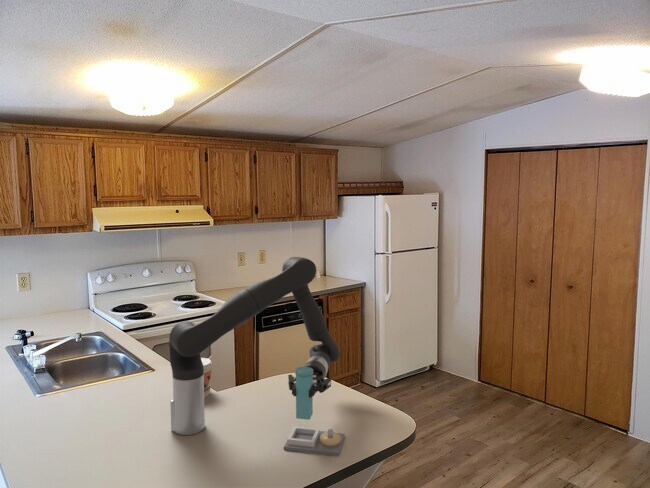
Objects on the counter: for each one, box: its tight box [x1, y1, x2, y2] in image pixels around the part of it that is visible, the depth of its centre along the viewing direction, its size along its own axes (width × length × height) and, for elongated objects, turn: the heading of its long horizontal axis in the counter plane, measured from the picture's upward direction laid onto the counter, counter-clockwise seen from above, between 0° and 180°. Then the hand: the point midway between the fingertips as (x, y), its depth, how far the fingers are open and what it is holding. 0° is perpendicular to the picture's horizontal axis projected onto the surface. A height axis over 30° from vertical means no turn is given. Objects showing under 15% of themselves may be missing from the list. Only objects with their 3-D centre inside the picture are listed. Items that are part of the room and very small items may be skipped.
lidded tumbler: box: [294, 366, 314, 420], centre depth 145 cm, size 5×5×14 cm
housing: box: [283, 425, 346, 457], centre depth 146 cm, size 16×11×4 cm
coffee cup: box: [201, 357, 213, 398], centre depth 178 cm, size 9×9×12 cm
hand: (302, 393), depth 142 cm, fingers closed on lidded tumbler, 4 cm apart
